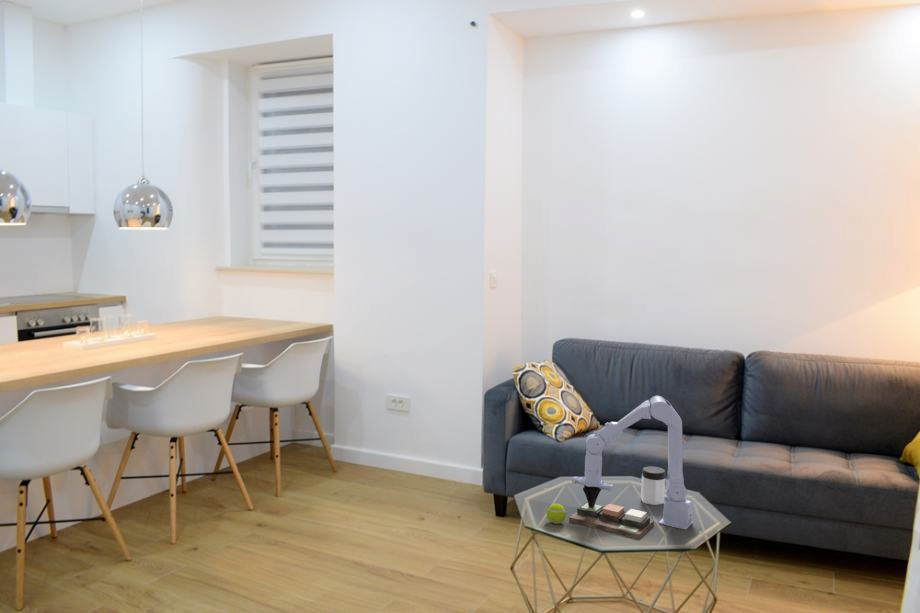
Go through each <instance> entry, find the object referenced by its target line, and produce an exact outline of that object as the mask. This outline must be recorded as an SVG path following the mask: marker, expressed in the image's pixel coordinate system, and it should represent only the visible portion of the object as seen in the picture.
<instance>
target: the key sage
mask: <svg viewBox="0 0 920 613" xmlns="http://www.w3.org/2000/svg"><path fill="white" fill-rule="evenodd" d="M585 503H586V502H585ZM600 505H601V504H596V503H595V506H594V507H593V508H590V507H589V506H588V503H586V504H585V505H584V506H582V507H581V509H585V510H589V511H593V512H597V511H599V510H600V509H601V508H602V506H603V505H601V506H600Z"/></svg>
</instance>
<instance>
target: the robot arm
mask: <svg viewBox="0 0 920 613" xmlns="http://www.w3.org/2000/svg"><path fill="white" fill-rule="evenodd" d="M651 416H652V417H651ZM652 418H653V419H655V420H658V421H660V422H663V423H664V425H666V426H667V464H668V465H667V466H668V467H667V471H666V473H667V475H666V477H665V479H666V480H665V490H666V491H665V495H664V504H663V510H662V511H663V512H662V513H663V514H662V518H661V519H660V521H658V524H659V525H665V526H669V527H672V528H675V529H680V530H681V529H682V530H688V528H689V527H690V526H691V525H692V524H693V523H694V521H693V513H694V503H693V501H691V500H688V499H687V492H688V491H687V488H686V486H685V483H684V473H683V472H684V471H683V421H682V418H681V417H680V415H679V414H678V412H677V411H676V410H675V409H674V407H673V405H672V404H671V403H670V401H668V399H666V398H664V396H660V395H654V396H652V397H651V398H649V399H647V400H644V401H643V402H642V403H641V404H639V405H638V406H637V407H635V408H633V409H632V410H631V411H630V412H629V413H628V414H626V415H625V416H623V417H622V418H621V419H620V420H618V421H610V422H608V421H607V422H606V423H604V426H603V427H602V428H600V429H598V430H594V431H593V433H591V434H589V435H588V436H587V437H586V439H585V447H586V450H585V456H584V477H579V476H573V477H572V481H571V482H572V483H571V484H577V485H582V486H584V487H583V488H582V491H583V492H584V494H585V497H586V500H587V501H586V502H588V506H589V507H590V508H593V507H594V506H595V504H596V501H597V499H598V497H599V495H600V492H601V490H605V491H608V492H611V493H612V492H613V491H614V484H610V483H608V482H605V481H603V480H602V471H603V470H602V468H603V467H602V466H603V456H602V452H603V450H604V447H606V446H608V445H610V444H611V443H613V442H614V441H615V440H617V439H619V438H620V437H621V436H622V435H623V431H624V430H626V429H627V428H628V427H630V426H632V425H633V424H635V423H637V422H639V421H640V420H641V419H644V420H645V419H646V420H652Z"/></svg>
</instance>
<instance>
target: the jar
mask: <svg viewBox="0 0 920 613" xmlns="http://www.w3.org/2000/svg"><path fill="white" fill-rule="evenodd" d="M665 480H666V469H664V468H662V467H659V466H650V465H649V466H644V467H642V473H641V482H640V483H641V485H640V487H641V488H640V500H641V501H642V504H646V505H652V506H658V505H664V495H665V493H666V487H665Z"/></svg>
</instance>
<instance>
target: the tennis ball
mask: <svg viewBox="0 0 920 613" xmlns="http://www.w3.org/2000/svg"><path fill="white" fill-rule="evenodd" d="M566 510H567V509H565V507H564V506H563V505H562V504H560V503H552V504H550V505H549V506H548V508H547V510H546V518H547V519H548V521H549V522H550V523H551V524H554V525H559V524H562V523H563V522H564V521H565V520H566V518H567V511H566Z"/></svg>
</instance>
